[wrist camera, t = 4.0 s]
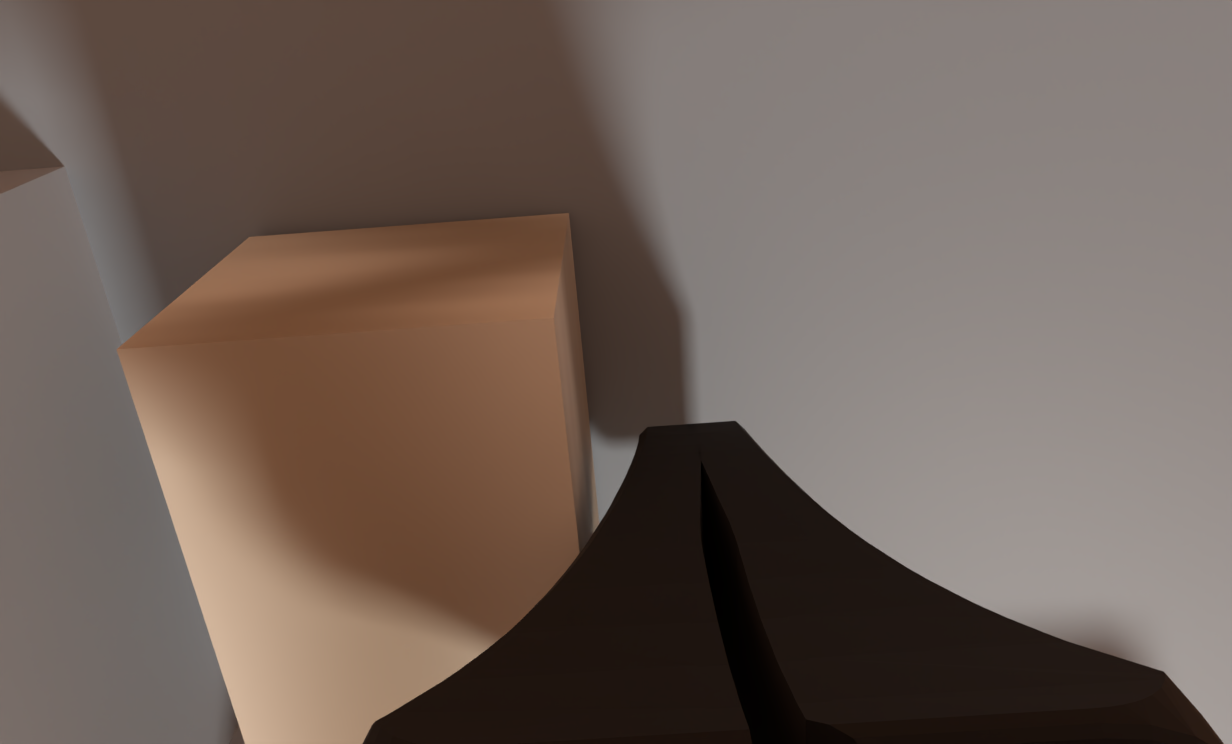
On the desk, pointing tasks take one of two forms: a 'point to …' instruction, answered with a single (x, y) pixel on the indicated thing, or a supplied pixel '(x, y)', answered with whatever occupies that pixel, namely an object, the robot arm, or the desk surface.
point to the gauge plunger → (369, 457)
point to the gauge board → (658, 282)
